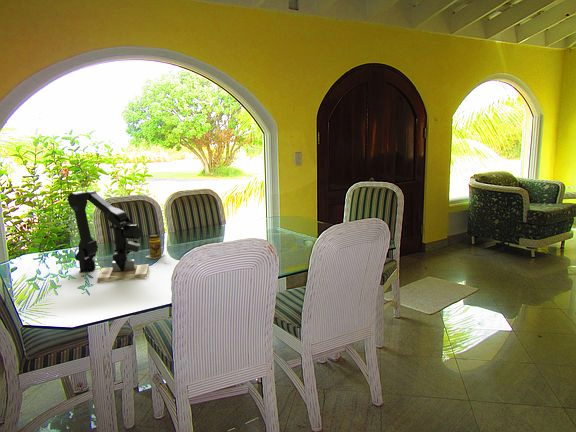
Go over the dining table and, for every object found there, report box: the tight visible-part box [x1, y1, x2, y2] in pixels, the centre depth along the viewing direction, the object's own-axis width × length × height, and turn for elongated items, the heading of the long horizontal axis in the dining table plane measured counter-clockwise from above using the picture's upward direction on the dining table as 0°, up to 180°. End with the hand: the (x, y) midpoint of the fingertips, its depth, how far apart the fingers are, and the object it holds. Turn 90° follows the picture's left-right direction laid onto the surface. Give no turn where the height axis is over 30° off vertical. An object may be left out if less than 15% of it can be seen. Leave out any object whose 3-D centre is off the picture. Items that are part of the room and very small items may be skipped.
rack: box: [96, 263, 150, 283], centre depth 223 cm, size 22×15×2 cm
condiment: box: [145, 233, 165, 260], centre depth 251 cm, size 7×8×12 cm
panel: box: [111, 259, 136, 272], centre depth 223 cm, size 10×2×7 cm, turn 103°
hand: (123, 268), depth 223 cm, fingers open, 7 cm apart
